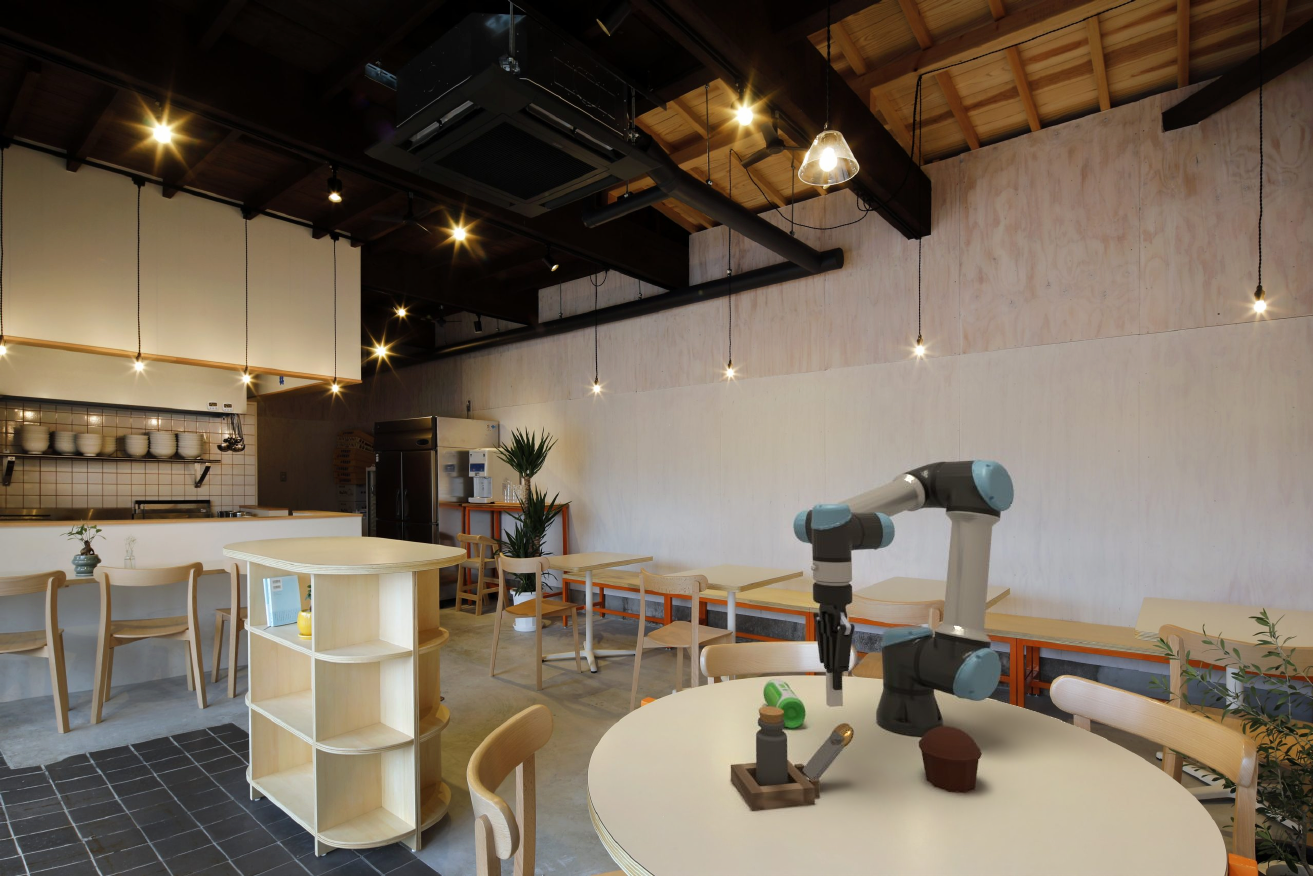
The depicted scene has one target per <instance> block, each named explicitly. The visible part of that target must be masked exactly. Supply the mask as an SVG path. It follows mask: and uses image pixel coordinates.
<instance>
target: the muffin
mask: <svg viewBox="0 0 1313 876" xmlns="http://www.w3.org/2000/svg"><path fill="white" fill-rule="evenodd" d="M918 747H919V750H920V752H921V757H922V762H923V767H924V774H925V779H926V782H928V783H929V784H931V785H932V786H933V787H934V788H937V789H941V790H943V791H946V792H949V793H960V794H961V793H962V794H966V793H969V792H973V791H975V790H976V783H977V774H978V767H979V761H980V759H981V758H982V754H983V753H982V751H981V748H980V746H978V743H977V742H976V741H975V739H974V738H972V736H970V735H969V734H968V733H966V732H964V731H963V730H962V729H960V728H957V727H955V726H954V727H953V726H950V725H949V726H947V725H945V726H944V725H943V726H940V727H936V728H933V729H931V730H930V731H928V732H927V733H926V734H925V735H924V736H921V738H920V739H919V741H918Z"/></svg>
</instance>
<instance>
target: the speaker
mask: <svg viewBox="0 0 1313 876" xmlns="http://www.w3.org/2000/svg"><path fill="white" fill-rule="evenodd" d="M763 699H764V701H765V703H766V704H767V705H768V706H770V707H777V708H780V709H782V710H783V711H784V714H783V719H784V720H785V728H789V729H795V728H798V727H801V725H803V723H804V721H805V719H806V715H807V714H806V713H807V712H806V708H805V705H804V703H803V701H802V700H801V699H800V698H799V697H798V696H797V694H795V692H794V691H793V690H792V689H791V687H790V686H789V684H788V683H787V682H786V681H784V680H782V679H781V678H779V679H778V678H772V679H771V680H768V681H767V682H766V683H765V685H764V687H763Z"/></svg>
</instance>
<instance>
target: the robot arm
mask: <svg viewBox="0 0 1313 876" xmlns="http://www.w3.org/2000/svg"><path fill="white" fill-rule="evenodd" d="M1014 492H1015V489H1014V485H1013V481H1012V478H1011V476H1010V474H1009V471H1008V470H1007V469H1006V468H1005V467H1004V466H1003V465H1002V464H1001V463H999V462H998V461H995V460H982V459H975V460H959V461H957V460H956V461H938V462H932V463H929V464H925V465H922V466H919V467H916V468H913V469H911V470H907V471H906V472H903V473H901V474H898V475H896V476H895V477H894V478H893V480H892V482H889V483H885V484H884V485H881V486H878V487H876V488H874V489H871V490H868V491H865V492H863V493H860V494H857V495H855V496H853V497H850V498H847V499H845V500H842V501H839V502H837V503H817V504H814V506H813V507H812V508H811V509H808V510H807V509H806V510H801V511H799V513H797V514H796V516H795V517H794V520H793V527H792V528H793V532H794V535H795V537H796V539H798V541H800V542H802V543H805V544H810V545H811V548H812V549H811V553H812V565H811V567H810V569H811V571H812V580H813V581H815V582H813V584H812V599H813V602H814V603H816V604H819V607H818V610H819V611H818V612H813V613H812V615H813V616H812V617H813V621H814V624H815V631H816V639H817V640H816V642H817V647H818V659H819V664H823V668H824V670H825V690H826V691H825V692H826V693H825V696H826V699H825V700H826V701H825V702H826V704H825V705H827V706H828V707H829V708H831V707H832V708H834V707H843V706H844V705H843V704H844V701H843V700H844V699H843V673H844V672H849V671H850V661H851V660H850V659H851V654H852V653H851V650H852V642H853V635H854V632H855V624H854V623H849V621H848V612H847V606H848V605H850V604H852V603H853V586H852V584H851V582H852V581H853V571H852V570H853V563H852V561H853V559H852V557H853V555H852V551H863V550H865V551H866V550H874V551H875V550H879V549H883V548H887V547H888V546H890V545H892V543H893V541H894V538H895V535H896V531H895V525H894V522H893V520H892V518H891V517H894V516H895V515H898V514H900V513H903V512H905V511H906V512H916V511H918V510H921V509H945V515H946V516H947V517H948V518H949V520H950V522H951V527H950V530H951V531H950V540H949V549H948V550H949V551H948V560H947V572H946V585H945V594H944V605H943V606H944V607H943V616H942V619H943V620H942V624H941V625H940V626H938V627H936V628H935V629H934V631H933V629H932V628H930V627H927V626H898V627H897V626H895V627H890V628H887V629H885V630H884V631H883V632H882V637H881V638H882V641H881V643H882V645H881V654H882V655H881V661H882V662H881V663H882V687H883V688H882V692H881V696H880V699H879V701H878V704H877V708H876V711H875V712H876V713H875V714H876V719H875V720H876V723H877V724H878V725H879V726H880V727H882V728H884V729H885V730H888V731H890V732H893V733H897V734H901V735H907V736H912V737H923V736H924V735H925V734H926V733H927V732H928V731H930V730H931V729H933V728H936V727H940V726H944V719H943V716H942V713H941V709H940V707H939V704H938V702H937V699H936V695H935V691H939V692H941V693H945V694H948V695H952V696H955V697H957V698H958V699H963V700H965V699H966V700H969V701H972V702H973V701H974V702H980V701H984V700H986V699H987V698H989V697H990V696H991V695H992V693H993V692H994V691H995V689H996V688H997V686H998V684H999V682H1000V679H1001V673H1002V663H1001V661H1000V657H999V654H998V653H997V652H995V651H994V650H993V649H992V648H991V644H992V640H991V639H990V637H989V636H988V635H987V634H986V633H985V624H986V611H987V610H986V609H987V597H988V586H989V585H988V583H989V572H990V562H991V561H990V560H991V559H990V558H991V549H992V548H991V545H992V534H993V527H994V526H995V525H996V524H997V523H998V522H1000V521H1001V515H1002V514H1001V512H1004V511H1007V510H1009V509H1010V508H1011V507H1012V504H1013V502H1014V498H1015V497H1014V495H1015V493H1014Z"/></svg>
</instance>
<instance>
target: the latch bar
mask: <svg viewBox="0 0 1313 876" xmlns="http://www.w3.org/2000/svg"><path fill="white" fill-rule="evenodd" d="M854 735H855V731H854V728H852V727H851V725H850V724H848V723H847V722H843V723H840V724H838V725H837V726H836V727H834V729H833V730H832V731H831V733H830V735H829V736H828V737H827V738H826V740H825V741H824V742H823V744H821V746H820V747H819V749H818V750H817V751H816V752H815V753H814V754H813V755H812V757H810V759H809V760H808V762H807V763H806V764H804V766H805V767H804V768H803V769H802V771H801V772H800V773H801V774H802V775H803V776H804V777H805V778H806V779H807V780H808V781H809V779H811V778H817V779H818V780H819V781H820V778H821V777H822V776H823V775H824V774H825V772H826V771H827V770H828V769H829V768H830V766H831V765H832V764H833V763H834V761H835V760H836V759H837V758H838V756H839V755H840V754H841V752H843V750H844V749H845V748H846V747H847V746H848V745H849V744H850V743H851V742H852V740H853V738H854Z"/></svg>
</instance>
